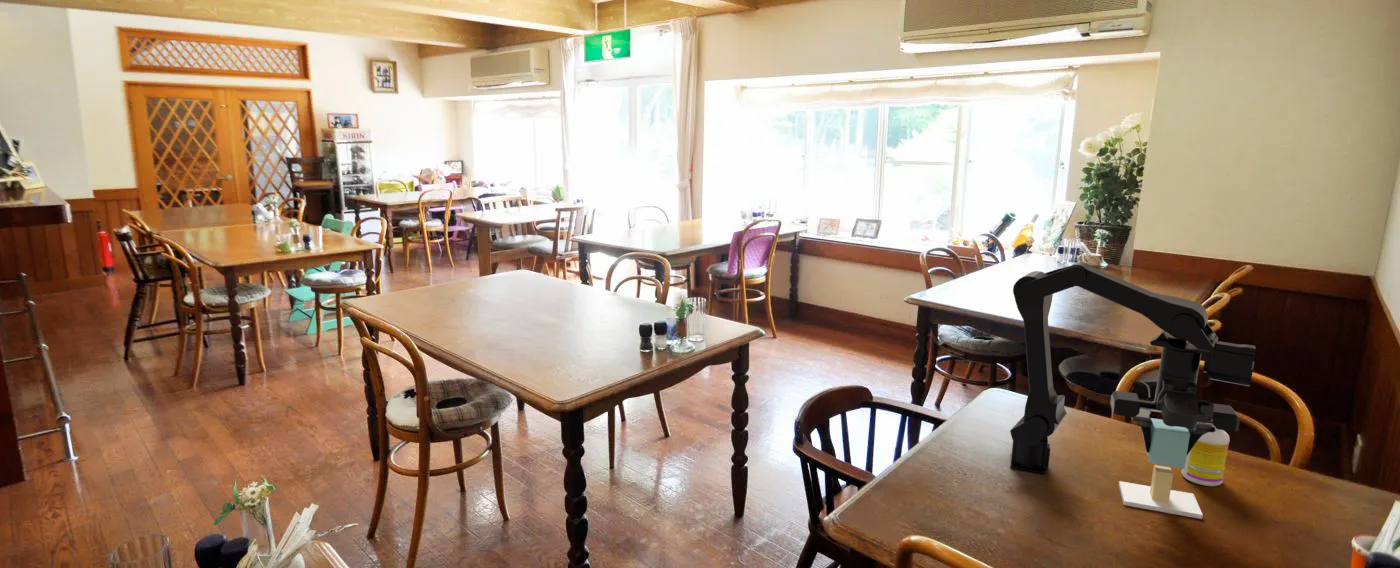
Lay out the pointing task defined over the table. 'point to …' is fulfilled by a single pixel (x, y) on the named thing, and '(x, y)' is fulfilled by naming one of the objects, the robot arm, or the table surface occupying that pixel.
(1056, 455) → the table surface
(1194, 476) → the supplement bottle
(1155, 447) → the teal rectangular block
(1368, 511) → the table surface
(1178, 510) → the post stand
